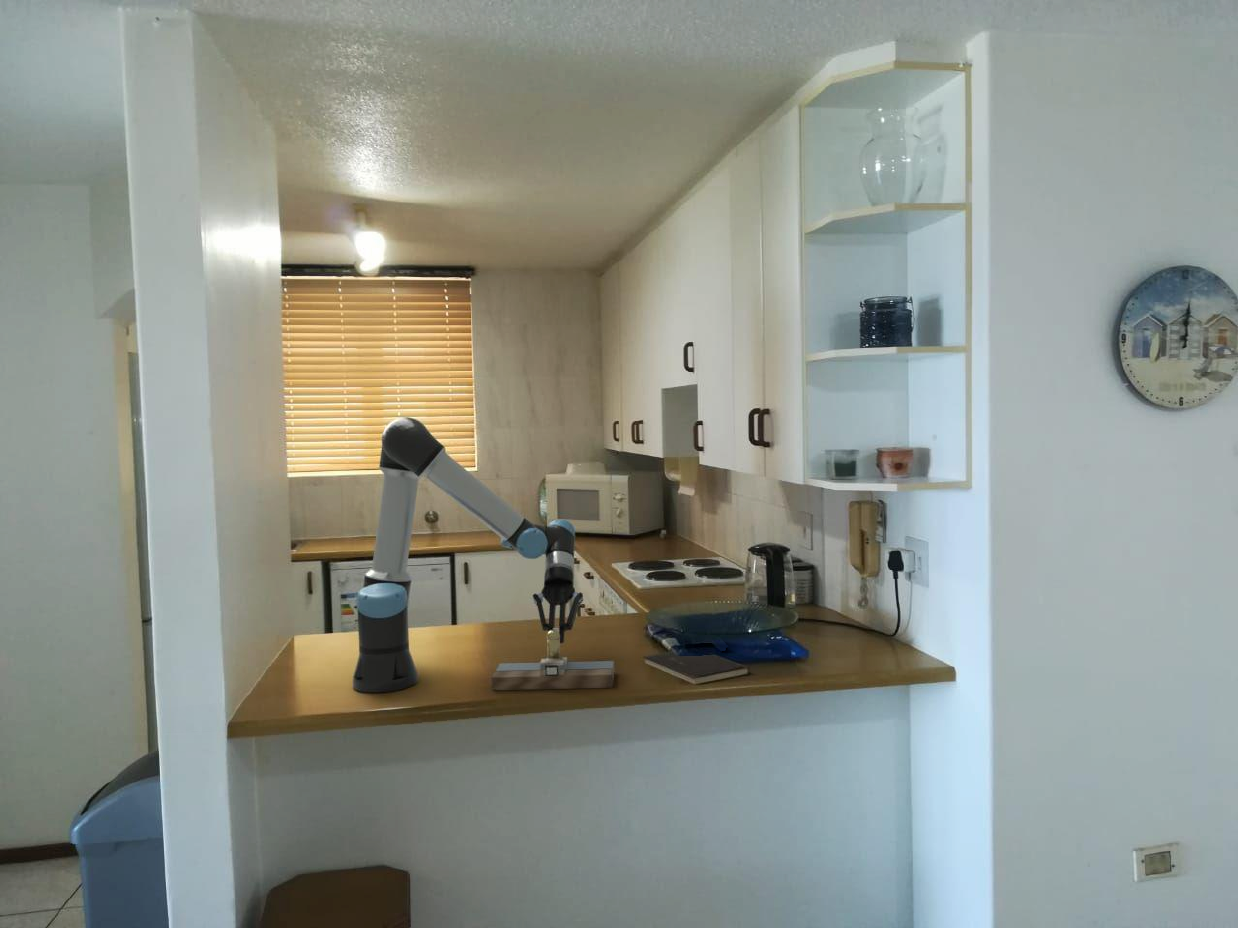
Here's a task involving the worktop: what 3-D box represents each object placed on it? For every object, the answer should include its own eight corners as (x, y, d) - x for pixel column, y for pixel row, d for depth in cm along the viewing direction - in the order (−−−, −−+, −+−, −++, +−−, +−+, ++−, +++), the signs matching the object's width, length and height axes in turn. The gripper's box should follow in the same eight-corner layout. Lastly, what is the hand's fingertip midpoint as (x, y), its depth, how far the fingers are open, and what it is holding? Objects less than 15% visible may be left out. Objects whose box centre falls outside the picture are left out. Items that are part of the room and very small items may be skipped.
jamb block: (492, 690, 205) (491, 664, 205) (495, 683, 210) (494, 658, 210) (612, 687, 204) (611, 661, 204) (613, 681, 209) (612, 656, 209)
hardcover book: (693, 687, 204) (693, 677, 204) (643, 665, 225) (643, 656, 225) (749, 675, 212) (749, 666, 212) (695, 655, 232) (695, 646, 232)
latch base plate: (496, 683, 210) (495, 665, 210) (500, 675, 217) (499, 658, 217) (613, 680, 210) (612, 663, 209) (614, 672, 216) (613, 656, 216)
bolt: (545, 674, 205) (543, 635, 204) (548, 666, 212) (547, 628, 211) (558, 674, 205) (557, 634, 204) (561, 665, 212) (560, 627, 211)
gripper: (585, 580, 231) (583, 660, 215) (535, 582, 231) (530, 662, 216) (583, 563, 226) (581, 645, 210) (532, 565, 226) (526, 646, 210)
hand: (555, 653), depth 213 cm, fingers closed
